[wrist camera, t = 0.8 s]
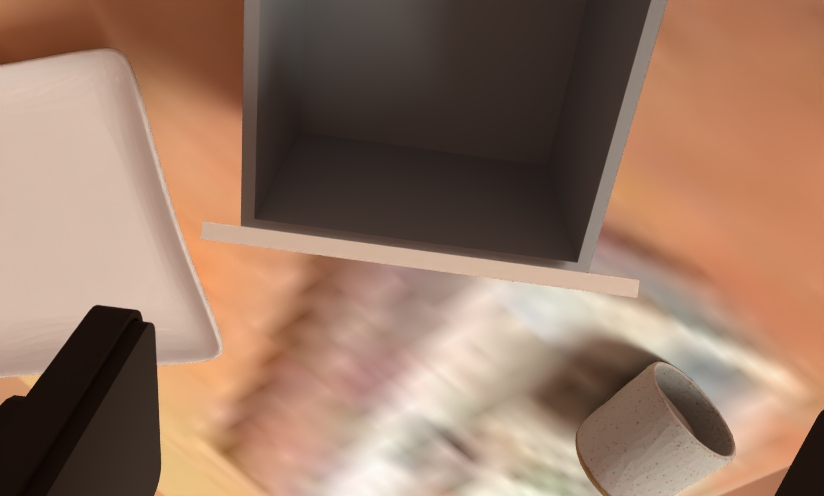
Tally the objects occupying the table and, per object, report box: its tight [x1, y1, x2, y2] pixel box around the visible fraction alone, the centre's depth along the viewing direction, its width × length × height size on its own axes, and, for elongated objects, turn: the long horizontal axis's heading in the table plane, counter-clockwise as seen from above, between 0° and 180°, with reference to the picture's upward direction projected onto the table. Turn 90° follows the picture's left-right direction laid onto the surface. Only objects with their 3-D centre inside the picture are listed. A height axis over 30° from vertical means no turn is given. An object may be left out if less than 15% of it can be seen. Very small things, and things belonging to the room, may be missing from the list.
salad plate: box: [0, 48, 223, 378], centre depth 46 cm, size 21×21×3 cm
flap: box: [200, 221, 639, 298], centre depth 28 cm, size 15×8×1 cm
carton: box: [241, 0, 667, 273], centre depth 34 cm, size 16×18×12 cm
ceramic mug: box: [576, 361, 736, 496], centre depth 49 cm, size 11×8×8 cm
